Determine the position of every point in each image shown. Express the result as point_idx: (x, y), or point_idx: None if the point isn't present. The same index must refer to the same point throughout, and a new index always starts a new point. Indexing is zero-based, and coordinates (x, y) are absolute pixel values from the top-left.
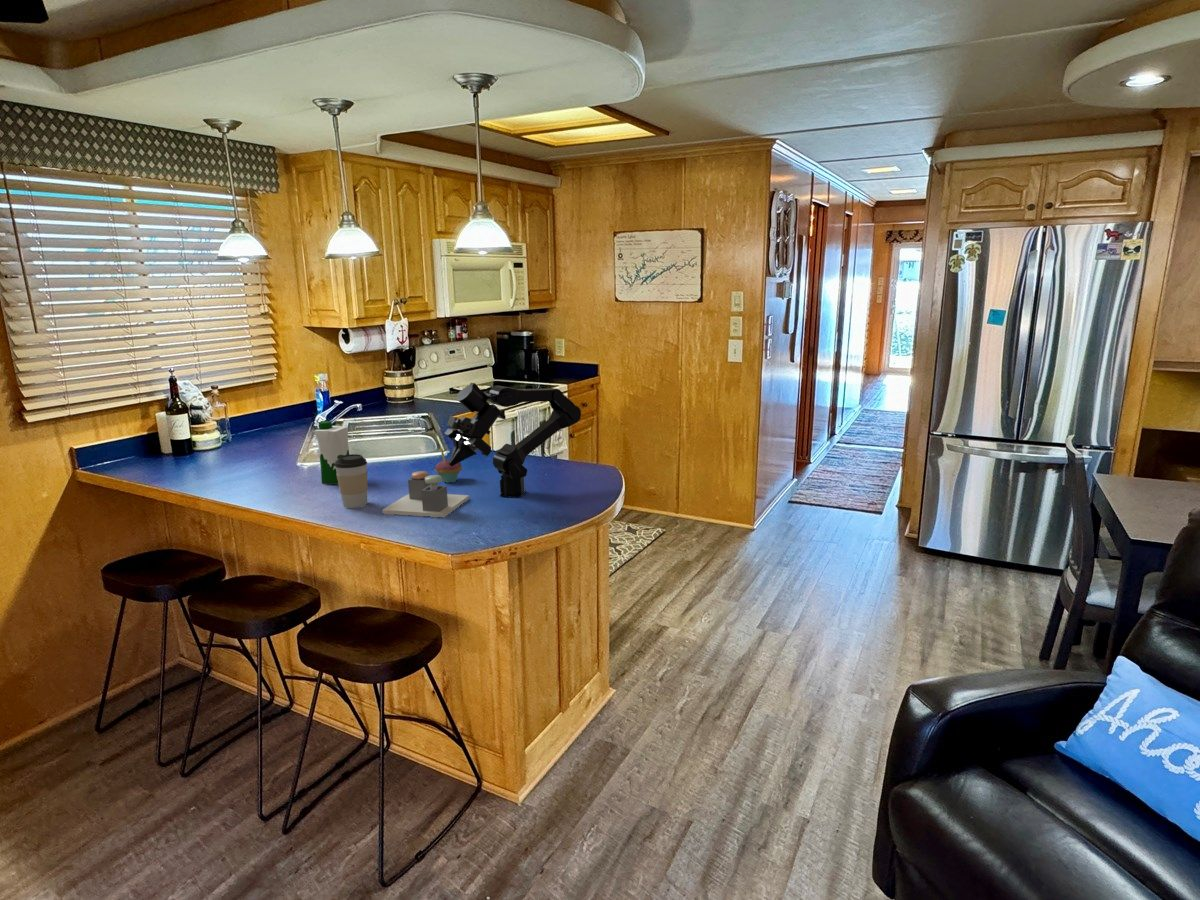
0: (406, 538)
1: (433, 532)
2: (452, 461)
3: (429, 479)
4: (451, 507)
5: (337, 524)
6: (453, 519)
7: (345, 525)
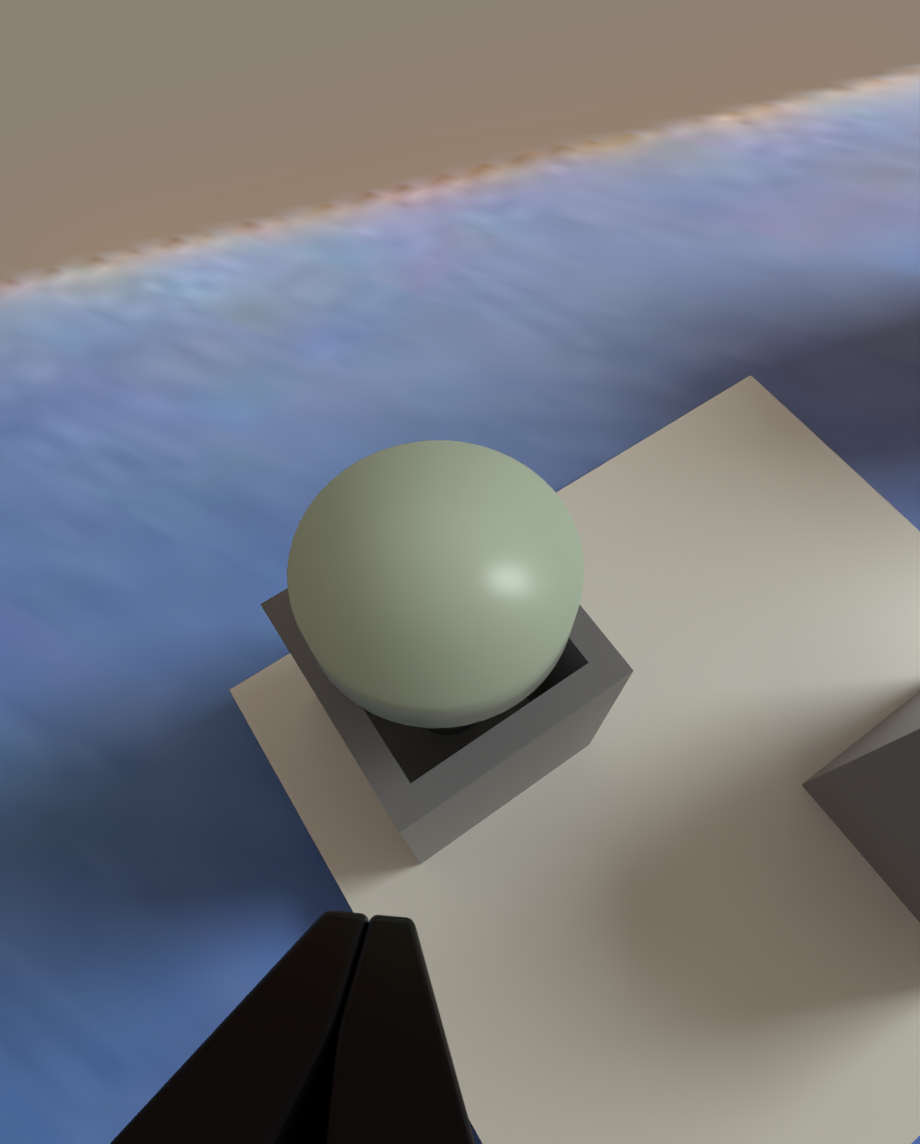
0: (109, 310)
1: (33, 473)
2: (248, 1008)
3: (362, 462)
4: (341, 863)
5: (704, 152)
6: (135, 747)
7: (650, 173)
